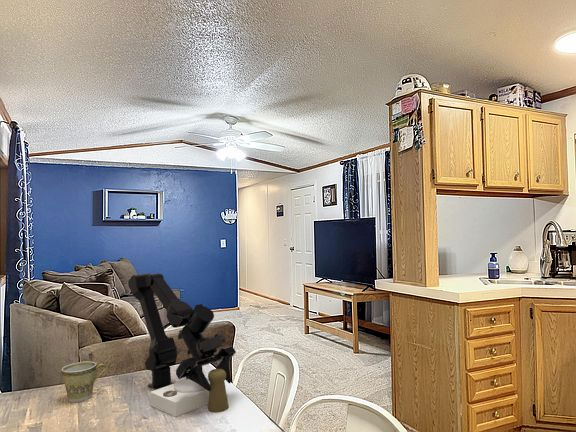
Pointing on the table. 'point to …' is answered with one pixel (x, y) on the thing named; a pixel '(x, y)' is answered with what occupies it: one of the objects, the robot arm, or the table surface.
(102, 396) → the table surface
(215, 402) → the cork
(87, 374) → the ceramic cup
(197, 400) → the kitchen scale
